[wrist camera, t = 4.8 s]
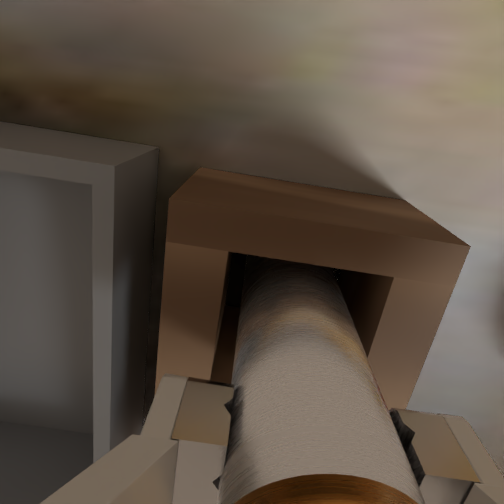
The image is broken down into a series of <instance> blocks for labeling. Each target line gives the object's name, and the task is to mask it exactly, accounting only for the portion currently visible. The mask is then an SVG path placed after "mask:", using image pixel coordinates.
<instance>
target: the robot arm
mask: <svg viewBox="0 0 504 504" xmlns="http://www.w3.org/2000/svg"><path fill="white" fill-rule="evenodd" d="M233 393H234V384H228V383H222V382H216V381H211V380H205V379H199V378H193V377H189V378H188V377H185V376H179V375H173V374H167V373H165V374H164V376H163V377H162V378H161V381H160V384H159V386H158V389H157V392H156V394H155V397H154V399H153V402H152V405H151V407H150V410H149V413H148V415H147V418H146V421H145V423H144V426H143V429H142V431H141V434H140V435H134V434H132V435H131V436H129V437H128V438H127V439H125V440H124V441H123V442H121V443H120V444H119V445H117V446H116V447H115V448H113V449H112V450H111V451H109V452H108V453H107V454H105V455H104V456H103V457H101V458H100V459H99V460H97V461H96V462H95V463H93V464H92V465H91V466H89V467H88V468H87V469H85V470H84V471H83V472H81V473H80V474H79V475H77V476H76V477H74V478H73V479H72V480H70V481H69V482H68V483H66V484H65V485H64V486H62V487H61V488H60V489H58V490H57V491H56V492H54V493H53V494H52V495H50V496H49V497H48V498H46V499H45V500H44V501H42V502H41V503H40V504H217V498H218V489H219V481H220V476H221V474H222V472H223V470H224V464H225V458H226V451H227V445H228V437H229V429H230V420H231V415H230V413H231V407H232V401H233ZM389 413H390V416H391V418H392V421H393V423H394V426H395V428H396V431H397V433H398V436H399V438H400V441H401V443H402V446H403V448H404V451H405V453H406V456H407V458H408V461H409V463H410V466H411V468H412V471H413V473H414V476H415V478H416V481H417V483H418V486H419V488H420V491H421V493H422V496H423V498H424V501H425V503H426V504H504V478H503V476H502V474H501V473H500V471H499V470H498V468H497V467H496V465H495V464H494V462H493V460H492V459H491V457H490V456H489V454H488V453H487V451H486V449H485V448H484V446H483V445H482V443H481V442H480V440H479V438H478V437H477V435H476V434H475V432H474V431H473V429H472V428H471V426H470V424H469V423H468V422H467V421H466V420H465V419H464V418H463V417H460V416H452V415H445V414H434V413H427V412H419V411H412V410H405V409H398V408H391V409H390V410H389Z"/></svg>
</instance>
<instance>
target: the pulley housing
mask: <svg viewBox="0 0 504 504" xmlns="http://www.w3.org/2000/svg"><path fill="white" fill-rule="evenodd" d="M470 247H471V246H469V245H468V244H466V243H465V242H464V241H462V240H461V239H459V238H458V237H456V236H455V235H454V234H452V233H451V232H449V231H448V230H447V229H445V228H444V227H442V226H441V225H439V224H438V223H437V222H435V221H434V220H432V219H431V218H429V217H428V216H427V215H425V214H424V213H422V212H421V211H420V210H418V209H417V208H415V207H414V206H412V205H411V204H410V203H408V202H407V201H405V200H400V199H394V198H387V197H381V196H375V195H369V194H363V193H356V192H350V191H344V190H338V189H332V188H325V187H319V186H313V185H307V184H301V183H294V182H288V181H282V180H276V179H270V178H264V177H257V176H251V175H245V174H239V173H233V172H226V171H220V170H214V169H208V168H202V167H200V168H199V169H198V170H197V171H196V172H195V173H194V174H193V175H192V176H191V177H190V178H189V179H188V180H187V181H186V182H185V183H184V184H183V185H182V186H181V187H180V188H179V189H178V190H177V191H176V192H175V193H174V194H173V195H172V196H171V197H170V198H169V205H168V218H167V232H166V246H165V259H164V273H163V286H162V300H161V314H160V327H159V341H158V355H157V368H156V382H155V394H156V392H157V389H158V386H159V384H160V381H161V378H162V377H163V376H164V374H165V373H167V374H173V375H179V376H185V377H188V378H189V377H193V378H199V379H205V380H211V381H216V382H222V383H228V384H231V381H232V373H233V364H234V356H235V348H236V339H237V331H238V323H239V314H240V308H239V307H233V306H226V305H225V302H226V296H227V289H228V282H229V275H230V268H231V261H232V255H233V252H236V253H242V254H248V255H255V256H261V257H268V258H274V259H280V260H287V261H293V262H300V263H306V264H313V265H319V266H325V267H332V268H338V269H342V270H341V274H340V278H339V281H338V286H339V288H340V291H341V293H342V296H343V298H344V301H345V303H346V306H347V308H348V311H349V313H350V316H351V318H352V321H353V323H354V326H355V328H356V331H357V333H358V336H359V338H360V341H361V343H362V346H363V348H364V351H365V353H366V356H367V358H368V361H369V363H370V366H371V368H372V371H373V373H374V376H375V378H376V381H377V383H378V386H379V388H380V391H381V393H382V396H383V398H384V401H385V403H386V406H387V408H388V411H389V410H390V409H391V408H398V409H406V407H407V404H408V402H409V399H410V397H411V394H412V392H413V389H414V387H415V384H416V382H417V379H418V377H419V374H420V372H421V369H422V367H423V364H424V362H425V359H426V357H427V354H428V352H429V349H430V347H431V344H432V342H433V339H434V337H435V334H436V332H437V329H438V327H439V324H440V322H441V319H442V317H443V314H444V312H445V309H446V307H447V304H448V302H449V299H450V297H451V294H452V292H453V289H454V287H455V284H456V282H457V279H458V277H459V274H460V272H461V269H462V267H463V264H464V262H465V259H466V257H467V254H468V252H469V249H470ZM154 397H155V396H154Z"/></svg>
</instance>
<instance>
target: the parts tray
mask: <svg viewBox="0 0 504 504" xmlns="http://www.w3.org/2000/svg"><path fill="white" fill-rule="evenodd" d="M158 160H159V147H155V146H149V145H143V144H137V143H131V142H125V141H118V140H112V139H106V138H100V137H94V136H88V135H82V134H75V133H69V132H63V131H57V130H51V129H45V128H38V127H32V126H26V125H20V124H14V123H8V122H1V121H0V504H40V503H41V502H42V501H44V500H45V499H46V498H48V497H49V496H50V495H52V494H53V493H54V492H56V491H57V490H58V489H60V488H61V487H62V486H64V485H65V484H66V483H68V482H69V481H70V480H72V479H73V478H74V477H76V476H77V475H79V474H80V473H81V472H83V471H84V470H85V469H87V468H88V467H89V466H91V465H92V464H93V463H95V462H96V461H97V460H99V459H100V458H101V457H103V456H104V455H105V454H107V453H108V452H109V451H111V450H112V449H113V448H115V447H116V446H117V445H119V444H120V443H121V442H123V441H124V440H125V439H127V438H128V437H129V436H131V435H132V434H134V435H140V434H141V431H142V425H143V408H144V392H145V375H146V359H147V342H148V325H149V309H150V292H151V276H152V259H153V242H154V226H155V209H156V193H157V176H158Z"/></svg>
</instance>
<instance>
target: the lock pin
mask: <svg viewBox="0 0 504 504" xmlns="http://www.w3.org/2000/svg"><path fill="white" fill-rule="evenodd" d="M231 384H234V393H233V401H232V407H231V413H230V415H231V420H230V429H229V437H228V445H227V451H226V458H225V464H224V470H223V472H222V474H221V476H220V481H219V489H218V498H217V504H426V503H425V501H424V498H423V496H422V493H421V491H420V488H419V486H418V483H417V481H416V478H415V476H414V473H413V471H412V468H411V466H410V463H409V461H408V458H407V456H406V453H405V451H404V448H403V446H402V443H401V441H400V438H399V436H398V433H397V431H396V428H395V426H394V423H393V421H392V418H391V416H390V413H389V411H388V408H387V406H386V403H385V401H384V398H383V396H382V393H381V391H380V388H379V386H378V383H377V381H376V378H375V376H374V373H373V371H372V368H371V366H370V363H369V361H368V358H367V356H366V353H365V351H364V348H363V346H362V343H361V341H360V338H359V336H358V333H357V331H356V328H355V326H354V323H353V321H352V318H351V316H350V313H349V311H348V308H347V306H346V303H345V301H344V298H343V296H342V293H341V291H340V288H339V286H338V283H337V281H336V278H335V276H334V273H333V271H332V268H331V267H325V266H319V265H313V264H306V263H300V262H293V261H287V260H280V259H274V258H268V257H261V256H255V255H248V254H247V258H246V264H245V273H244V281H243V289H242V298H241V306H240V314H239V323H238V331H237V339H236V348H235V356H234V364H233V373H232V381H231Z"/></svg>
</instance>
